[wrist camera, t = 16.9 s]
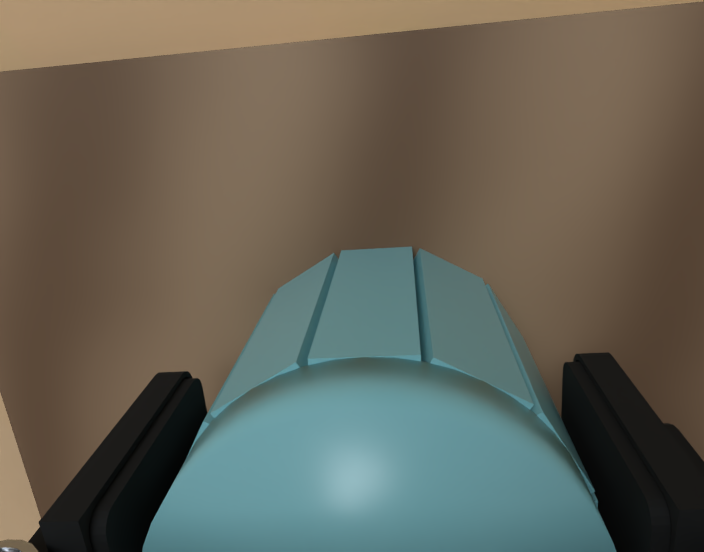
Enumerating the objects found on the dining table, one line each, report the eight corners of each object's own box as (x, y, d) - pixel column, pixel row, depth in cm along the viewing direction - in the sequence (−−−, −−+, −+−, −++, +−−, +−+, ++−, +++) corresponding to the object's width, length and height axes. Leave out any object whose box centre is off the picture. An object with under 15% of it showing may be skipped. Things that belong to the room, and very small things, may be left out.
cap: (233, 255, 12) (91, 415, 7) (527, 240, 12) (648, 399, 6) (268, 492, 14) (182, 772, 9) (521, 488, 14) (610, 785, 8)
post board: (841, -9, 11) (1292, -88, 5) (744, 576, 15) (935, 853, 10) (-55, 80, 13) (-400, 89, 7) (94, 581, 17) (-47, 821, 12)
